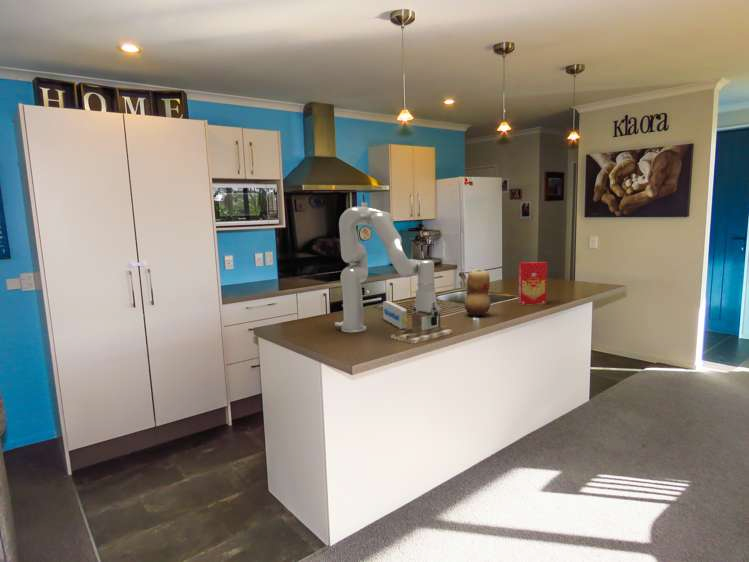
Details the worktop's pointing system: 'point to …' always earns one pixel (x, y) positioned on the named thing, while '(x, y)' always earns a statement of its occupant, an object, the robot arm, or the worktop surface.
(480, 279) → the tan lobed piece
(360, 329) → the robot arm
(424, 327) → the brown rectangular block
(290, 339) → the worktop surface
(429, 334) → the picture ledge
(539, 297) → the food packaging
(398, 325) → the white and blue box
